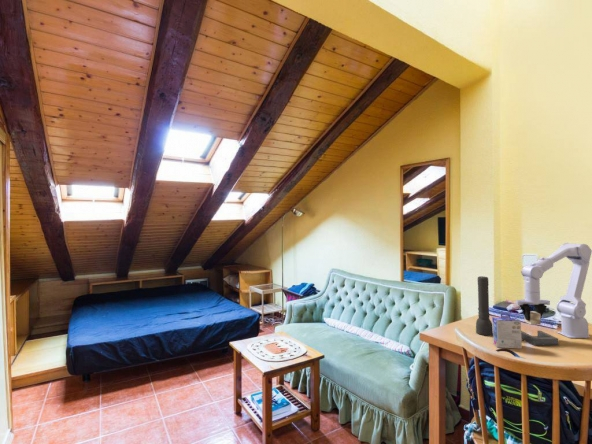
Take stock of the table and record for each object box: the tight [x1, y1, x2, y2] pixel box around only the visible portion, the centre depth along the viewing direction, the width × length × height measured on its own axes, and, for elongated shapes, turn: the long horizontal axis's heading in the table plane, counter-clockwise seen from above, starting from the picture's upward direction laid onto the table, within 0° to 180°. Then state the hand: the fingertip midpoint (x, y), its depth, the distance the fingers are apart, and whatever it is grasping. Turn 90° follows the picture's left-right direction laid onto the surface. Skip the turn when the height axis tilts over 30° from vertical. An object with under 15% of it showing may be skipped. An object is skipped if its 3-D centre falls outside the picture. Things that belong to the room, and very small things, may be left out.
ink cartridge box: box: [491, 312, 523, 350], centre depth 140 cm, size 10×6×14 cm, turn 78°
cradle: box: [521, 330, 559, 347], centre depth 145 cm, size 10×10×3 cm
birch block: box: [524, 310, 542, 326], centre depth 150 cm, size 4×4×5 cm
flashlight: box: [475, 276, 493, 337], centre depth 156 cm, size 7×28×7 cm
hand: (533, 320), depth 149 cm, fingers closed on birch block, 4 cm apart
